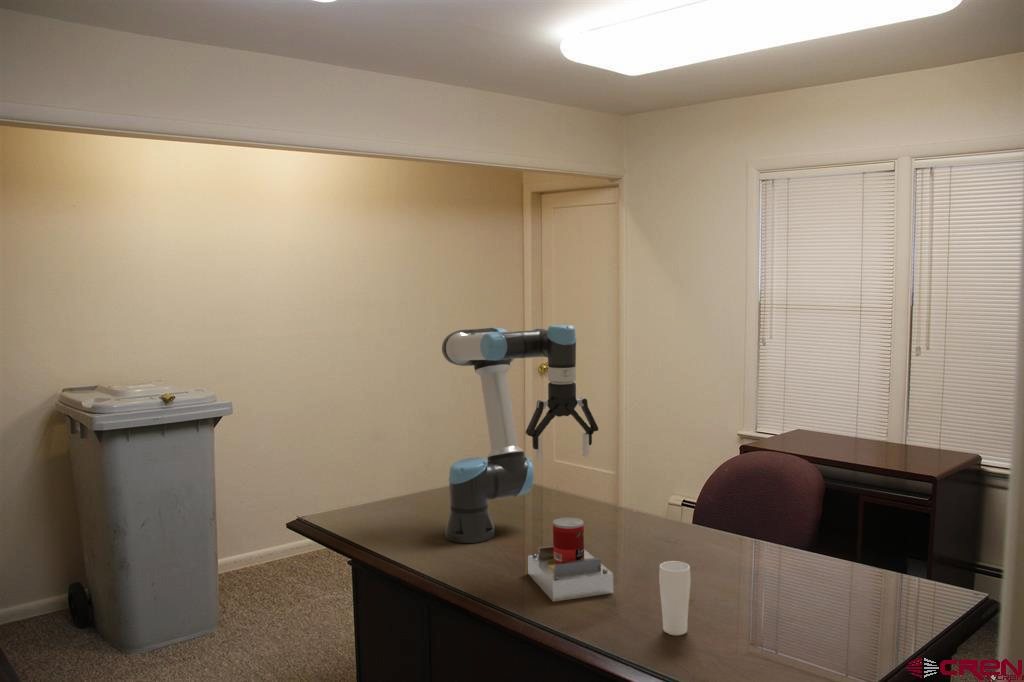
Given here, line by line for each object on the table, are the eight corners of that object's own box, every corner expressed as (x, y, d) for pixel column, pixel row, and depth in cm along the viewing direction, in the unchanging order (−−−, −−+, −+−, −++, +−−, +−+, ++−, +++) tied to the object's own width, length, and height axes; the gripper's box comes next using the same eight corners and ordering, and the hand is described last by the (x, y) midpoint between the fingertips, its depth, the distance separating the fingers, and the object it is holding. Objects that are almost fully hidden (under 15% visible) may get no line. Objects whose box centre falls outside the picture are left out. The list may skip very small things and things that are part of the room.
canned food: (582, 569, 209) (581, 526, 208) (551, 567, 211) (550, 525, 210) (586, 558, 217) (585, 517, 216) (555, 557, 218) (555, 516, 218)
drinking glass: (656, 625, 187) (655, 561, 186) (685, 624, 188) (685, 559, 187) (664, 638, 181) (663, 572, 179) (694, 637, 181) (694, 570, 180)
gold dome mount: (528, 573, 222) (527, 544, 221) (583, 566, 226) (583, 537, 226) (553, 601, 203) (552, 569, 202) (613, 592, 207) (612, 561, 206)
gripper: (521, 386, 217) (522, 465, 219) (610, 381, 224) (610, 458, 226) (513, 382, 224) (514, 459, 226) (599, 377, 231) (599, 452, 233)
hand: (562, 458), depth 226 cm, fingers open, 13 cm apart
